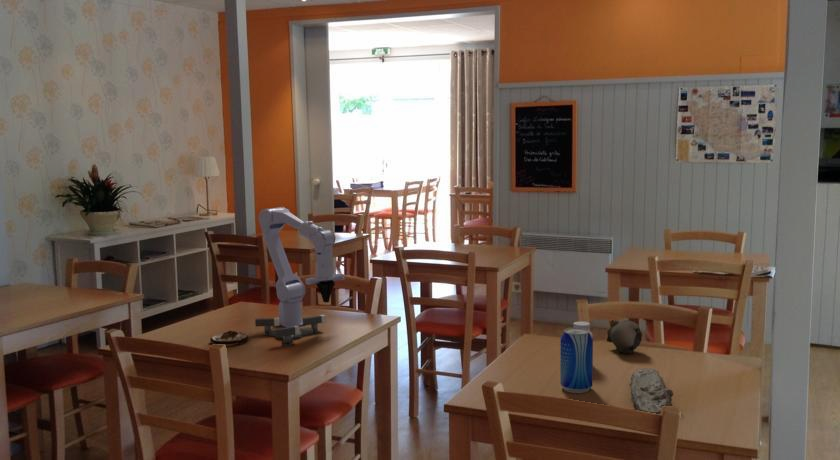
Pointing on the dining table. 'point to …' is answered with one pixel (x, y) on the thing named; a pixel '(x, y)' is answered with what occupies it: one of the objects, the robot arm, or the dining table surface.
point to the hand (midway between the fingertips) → (326, 301)
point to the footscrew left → (314, 321)
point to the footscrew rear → (267, 323)
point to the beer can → (576, 360)
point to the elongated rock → (649, 391)
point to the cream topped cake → (230, 338)
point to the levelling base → (302, 332)
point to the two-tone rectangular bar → (287, 332)
